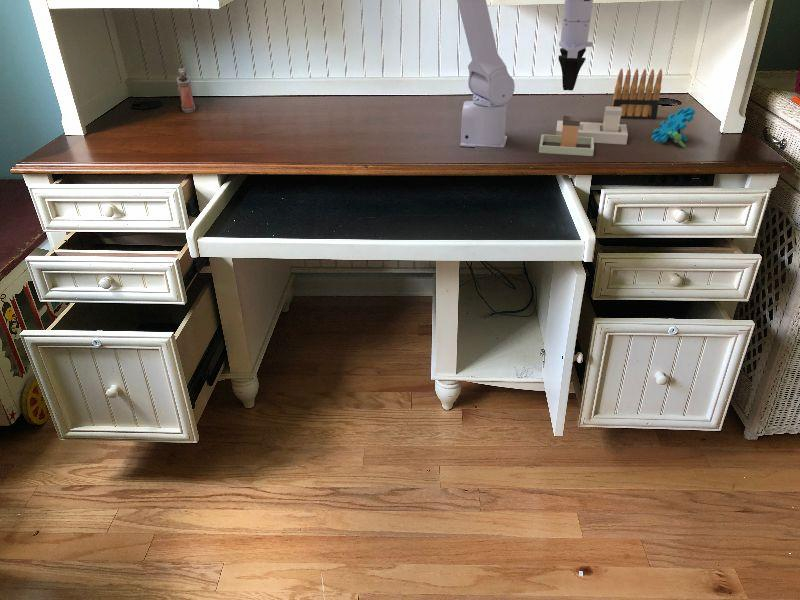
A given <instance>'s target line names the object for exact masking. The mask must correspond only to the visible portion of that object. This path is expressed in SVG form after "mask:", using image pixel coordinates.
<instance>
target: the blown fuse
mask: <svg viewBox="0 0 800 600" xmlns="http://www.w3.org/2000/svg"><path fill="white" fill-rule="evenodd" d="M562 118H563V119H562V121H563V129H562V137H561V143H560V146H561V147H577V145H578V144H577V137H578V129H579V126H580V122H581V116H577V115H576V116H575V115H563V117H562Z"/></svg>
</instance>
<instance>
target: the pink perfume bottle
mask: <svg viewBox="0 0 800 600" xmlns="http://www.w3.org/2000/svg"><path fill="white" fill-rule="evenodd" d="M187 75H188V74H187V71H186V69H185V68H178V77H177V78H176V85H178V87H177V89H178V94H179V97H180V101H181V105H180V106H181V109H182V111H183V113H193V112H195V110H196V105H195V104H196V103H194V98H193V93H192V91H193V90H192V87H191V78H190V76H187Z"/></svg>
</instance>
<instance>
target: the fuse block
mask: <svg viewBox="0 0 800 600" xmlns="http://www.w3.org/2000/svg"><path fill="white" fill-rule="evenodd" d="M556 122H557V124H556V129H555V130H556V131H555V135H562V129H563V120H557V121H556ZM602 127H603V122H590V121H588V122H587V121H580V126H579V129H578V136H579V137H594V144H595V143H597V144H598V143H599V144H611V145H612V144H613V145H624V146H625V145H627V143H628V138H629V137H628V136H629V134H628V128H627V127H628V126H627V124H626V123H625V124H623V123H620V124H619V130H618V132H607V131H602Z"/></svg>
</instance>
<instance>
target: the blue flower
mask: <svg viewBox="0 0 800 600" xmlns="http://www.w3.org/2000/svg"><path fill="white" fill-rule="evenodd" d="M695 114H696V110H694V108H691V107H690V106H687V107H686V108H685V109H684V108H680V109H678V110H677V111H676V114H674V113H671V114H669V115H668V119H667V121H665V120H662V121H660V122H659V124H658V125H659V127H660V128H654V130H653V131H652V133H653V134H652V135H651V138H650V139H653V141H654V142H655V143H660V142H661V143H666V142H667V141H668V139H669V138H671V139H672V141H673V143H675V144H678V145H679V146H680V147H683V148H685V147H686V144H685V143H684V142H683V141H689V139H688V138H687V136H686V135H685V134H684V133H683V132H682V131H684V130H685V129H686V128H687V127H688V125H687V124H686V122H688V123H691V122H692V121H693V120H694V115H695Z"/></svg>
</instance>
